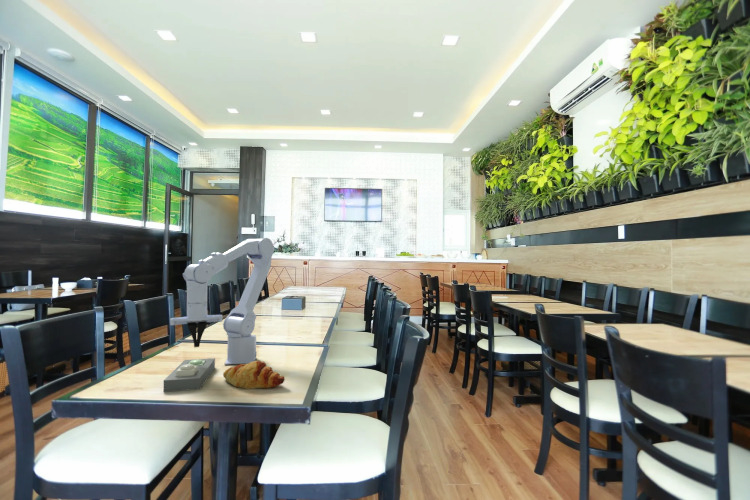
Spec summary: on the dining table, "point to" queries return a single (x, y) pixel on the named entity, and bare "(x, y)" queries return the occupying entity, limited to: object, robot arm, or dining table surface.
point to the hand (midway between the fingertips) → (196, 346)
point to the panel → (189, 377)
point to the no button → (187, 370)
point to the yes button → (197, 362)
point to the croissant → (253, 376)
